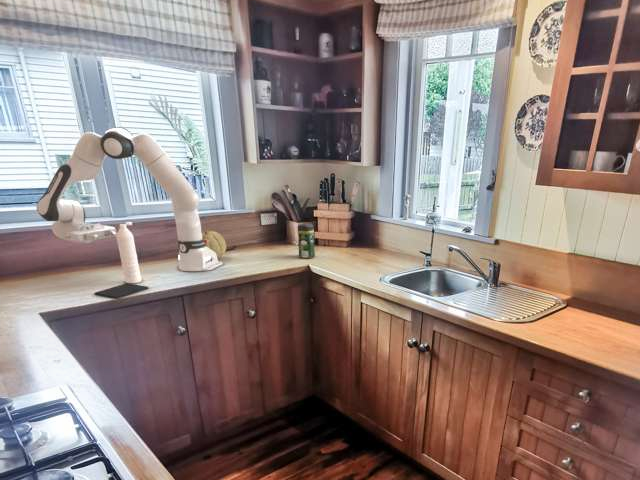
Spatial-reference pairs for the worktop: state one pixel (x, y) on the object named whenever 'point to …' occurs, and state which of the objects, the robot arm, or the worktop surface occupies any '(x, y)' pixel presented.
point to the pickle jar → (306, 240)
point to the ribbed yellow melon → (215, 242)
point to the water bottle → (128, 254)
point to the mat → (121, 290)
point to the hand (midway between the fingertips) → (106, 236)
